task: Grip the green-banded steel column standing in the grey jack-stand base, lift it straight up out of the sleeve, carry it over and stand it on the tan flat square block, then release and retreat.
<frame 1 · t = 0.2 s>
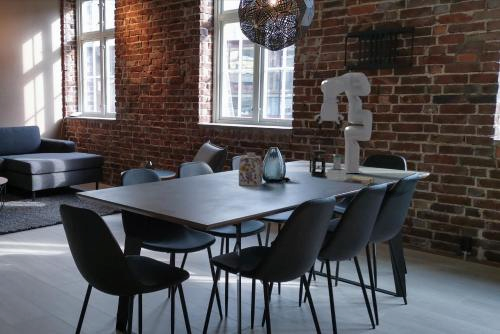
hand: (328, 130, 302), 30 cm above the table, tool pointing down, fingers open, 9 cm apart
tan flat square block: (360, 183, 298), on the table
decorative jar: (250, 184, 287), on the table
black lantern: (317, 178, 319), on the table
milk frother: (280, 180, 304), on the table
stand base: (336, 180, 306), on the table
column: (336, 179, 306), point 1 cm above the table, touching stand base
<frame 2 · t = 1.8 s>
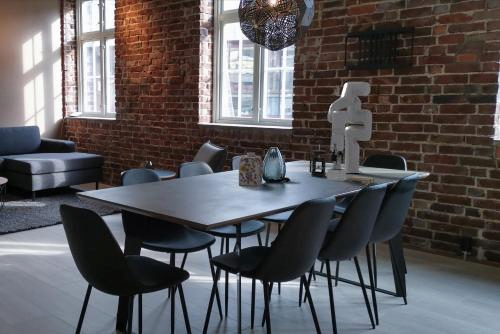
hand: (337, 160, 304), 12 cm above the table, tool pointing down, fingers open, 9 cm apart
nothing on the table moved.
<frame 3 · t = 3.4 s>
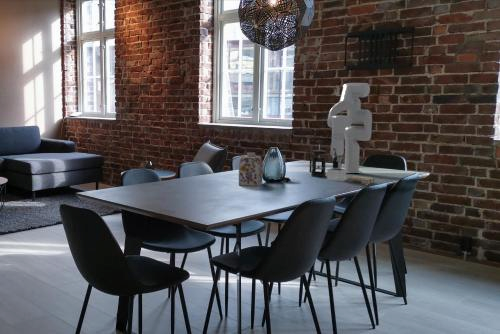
hand: (337, 167, 305), 8 cm above the table, tool pointing down, fingers closed on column, 4 cm apart
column: (336, 179, 306), point 1 cm above the table, touching gripper, stand base
everything else where it was.
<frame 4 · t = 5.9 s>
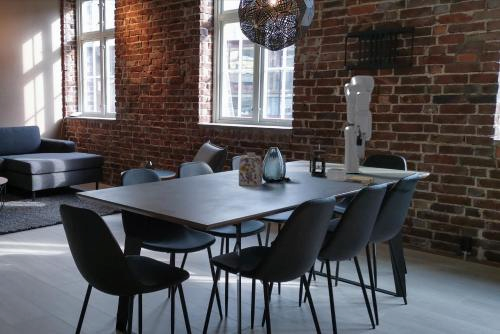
hand: (360, 144, 296), 22 cm above the table, tool pointing down, fingers closed on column, 4 cm apart
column: (360, 157, 297), point 15 cm above the table, touching gripper
everything else where it was.
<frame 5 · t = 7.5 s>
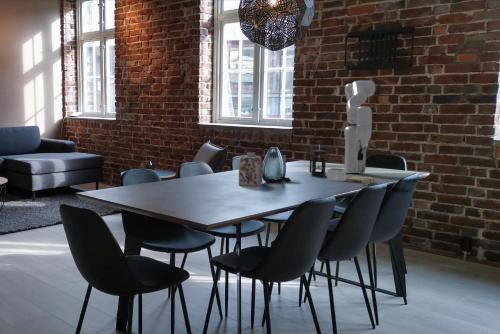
hand: (361, 159, 296), 14 cm above the table, tool pointing down, fingers closed on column, 4 cm apart
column: (361, 172, 297), point 7 cm above the table, touching gripper
everything else where it was.
when the fingers open (12 cm above the table, at t = 8.7 s): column drops 1 cm, resting on tan flat square block.
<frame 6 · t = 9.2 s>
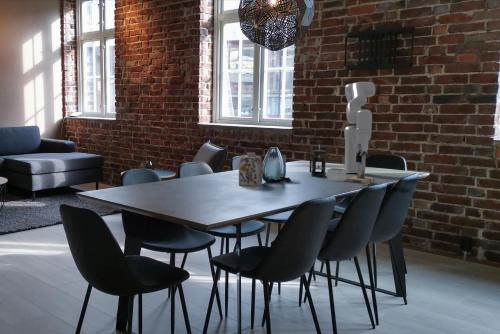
hand: (361, 161, 296), 13 cm above the table, tool pointing down, fingers open, 9 cm apart
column: (360, 178, 298), point 3 cm above the table, touching tan flat square block
everything else where it was.
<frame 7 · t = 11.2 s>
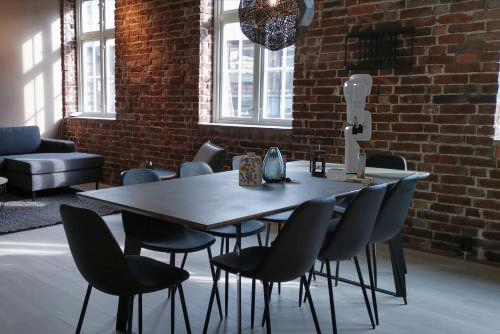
hand: (357, 133, 303), 28 cm above the table, tool pointing down, fingers open, 9 cm apart
nothing on the table moved.
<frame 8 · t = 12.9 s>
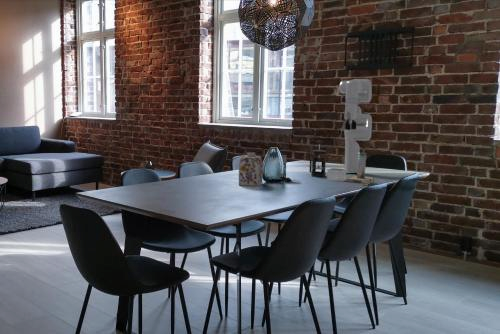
hand: (350, 129, 314), 30 cm above the table, tool pointing down, fingers open, 9 cm apart
nothing on the table moved.
at the end: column inside the target area on the tan flat square block (0.2 cm from its centre), point 3.0 cm above the tan flat square block's base; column tilted 1°; the gripper is holding nothing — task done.
